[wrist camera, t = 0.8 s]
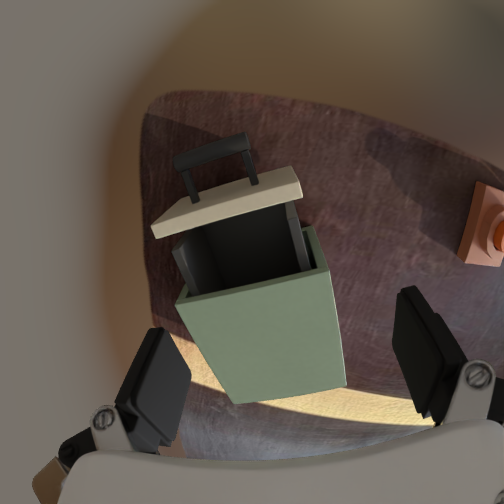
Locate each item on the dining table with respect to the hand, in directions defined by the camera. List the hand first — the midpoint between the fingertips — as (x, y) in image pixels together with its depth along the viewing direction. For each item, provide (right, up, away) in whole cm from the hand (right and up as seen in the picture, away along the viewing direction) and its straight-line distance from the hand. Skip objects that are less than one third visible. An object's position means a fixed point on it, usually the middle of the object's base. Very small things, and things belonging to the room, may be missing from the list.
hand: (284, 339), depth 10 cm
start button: (+29, +6, +12) cm, 32 cm away
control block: (+29, +7, +16) cm, 34 cm away
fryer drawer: (-2, +6, +17) cm, 19 cm away
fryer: (+1, -2, +22) cm, 22 cm away
